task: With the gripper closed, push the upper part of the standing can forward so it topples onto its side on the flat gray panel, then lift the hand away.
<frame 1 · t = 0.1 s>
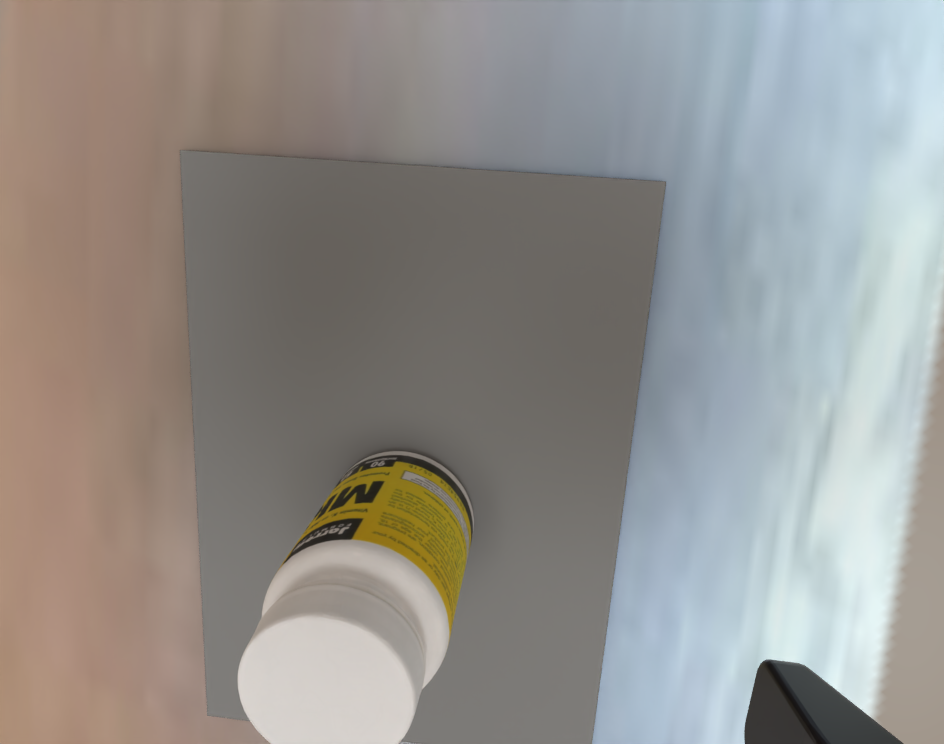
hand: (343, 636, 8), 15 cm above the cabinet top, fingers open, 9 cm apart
flat gray panel: (404, 484, 23), on the cabinet top
supplement bottle: (403, 512, 24), resting on flat gray panel
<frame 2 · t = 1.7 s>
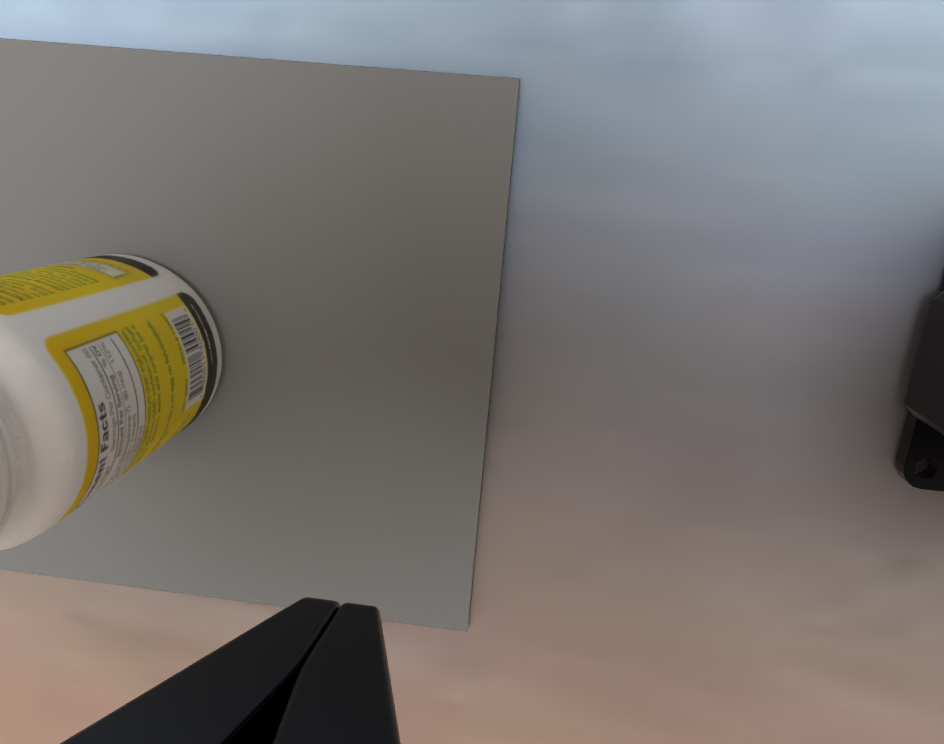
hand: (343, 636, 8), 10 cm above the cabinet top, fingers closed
flat gray panel: (103, 341, 18), on the cabinet top
supplement bottle: (141, 345, 18), resting on flat gray panel
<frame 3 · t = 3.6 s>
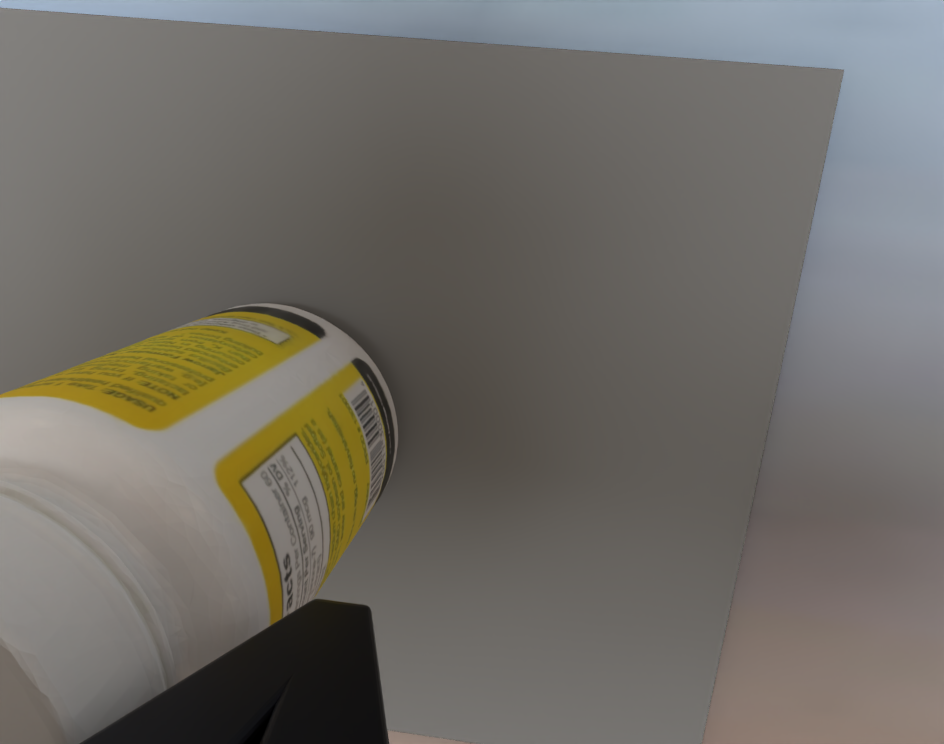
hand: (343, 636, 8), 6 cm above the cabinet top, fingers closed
flat gray panel: (242, 410, 14), on the cabinet top
supplement bottle: (289, 418, 14), resting on flat gray panel, touching gripper
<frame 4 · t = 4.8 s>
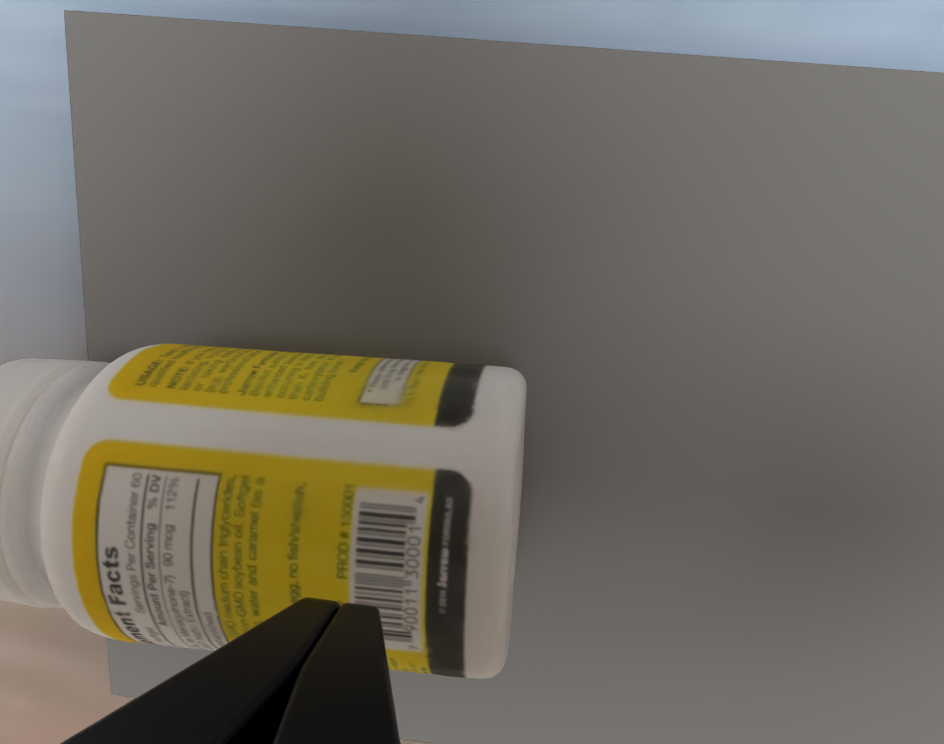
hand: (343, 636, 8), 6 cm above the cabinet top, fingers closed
flat gray panel: (599, 455, 14), on the cabinet top
supplement bottle: (531, 521, 11), point 3 cm above the cabinet top, touching flat gray panel
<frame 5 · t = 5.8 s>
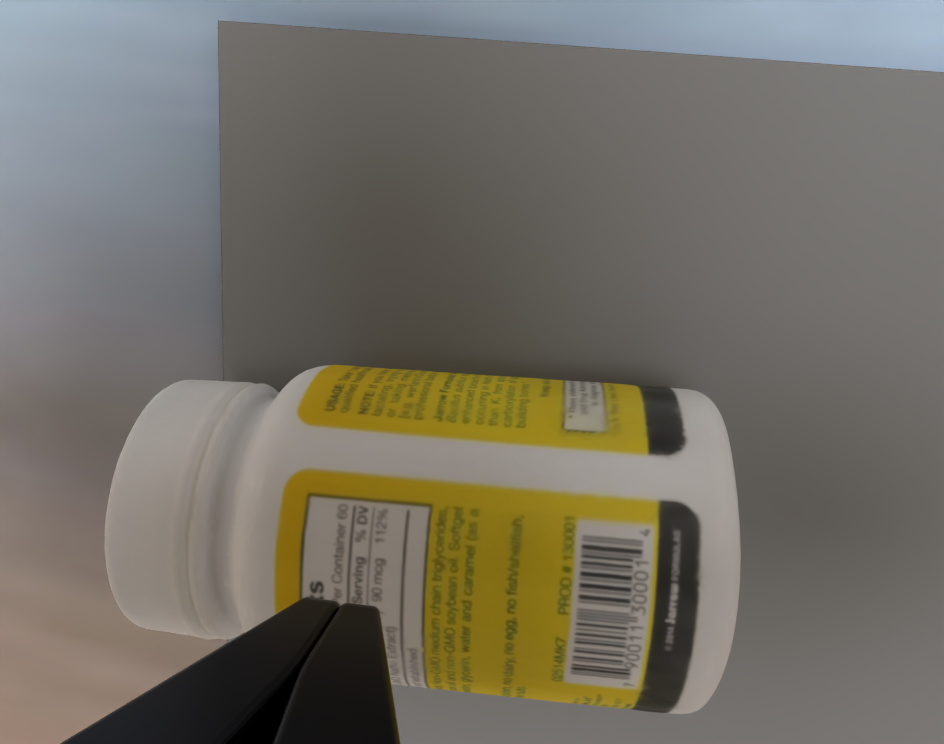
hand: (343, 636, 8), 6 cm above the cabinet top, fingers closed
flat gray panel: (753, 476, 13), on the cabinet top
supplement bottle: (715, 548, 11), point 3 cm above the cabinet top, touching flat gray panel
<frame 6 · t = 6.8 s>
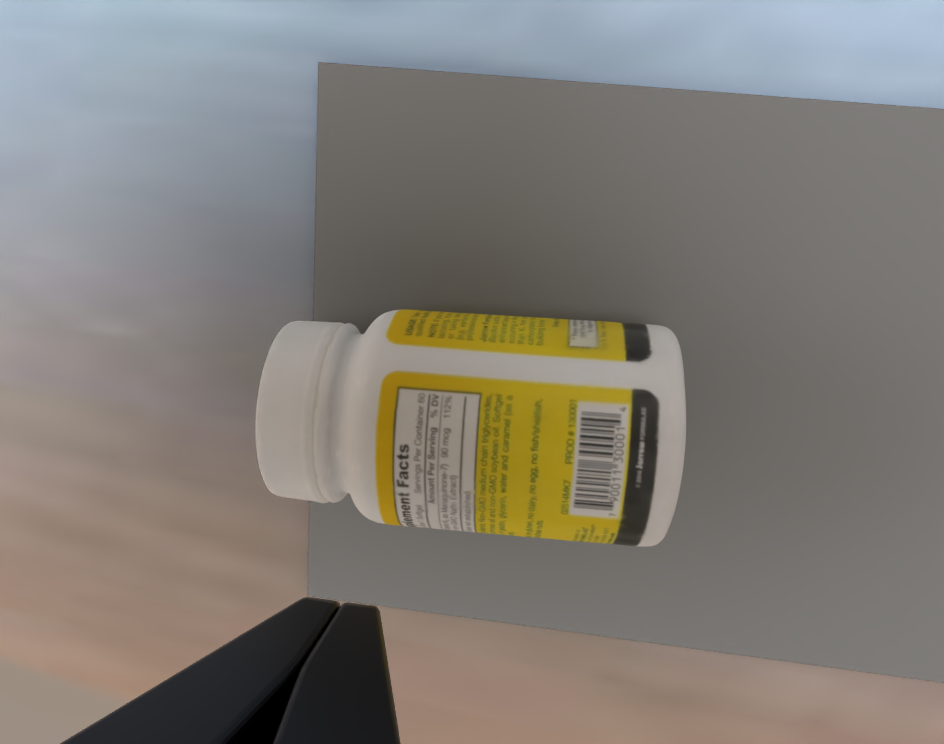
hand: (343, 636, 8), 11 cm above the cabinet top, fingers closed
flat gray panel: (709, 398, 18), on the cabinet top
supplement bottle: (676, 437, 15), point 3 cm above the cabinet top, touching flat gray panel
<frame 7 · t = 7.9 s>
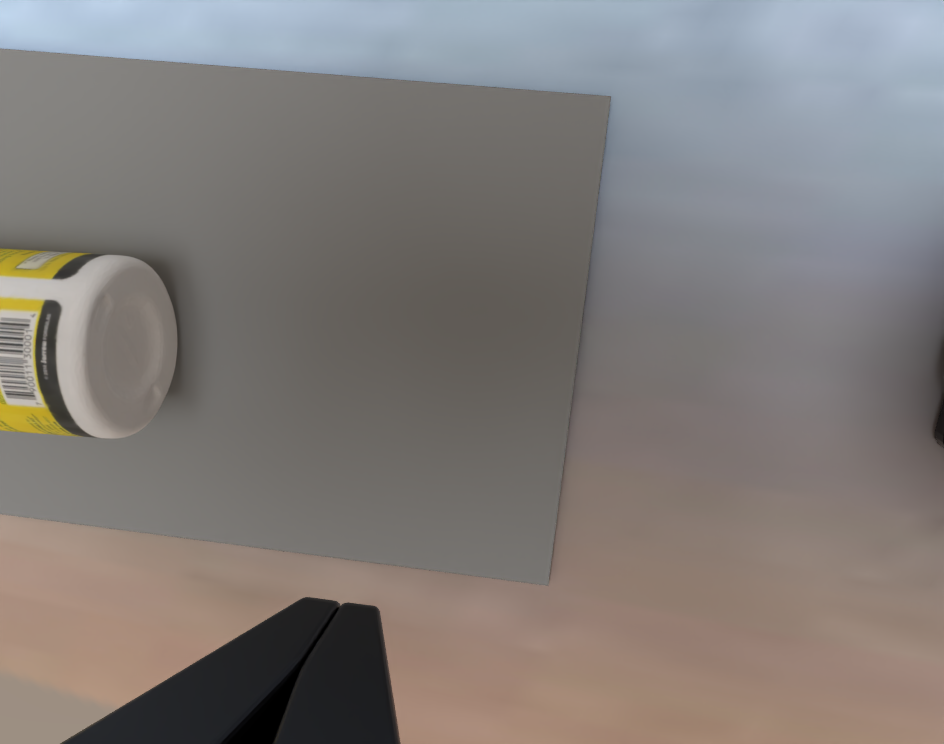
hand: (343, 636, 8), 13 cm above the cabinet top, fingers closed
flat gray panel: (231, 326, 21), on the cabinet top
supplement bottle: (144, 350, 19), point 3 cm above the cabinet top, touching flat gray panel
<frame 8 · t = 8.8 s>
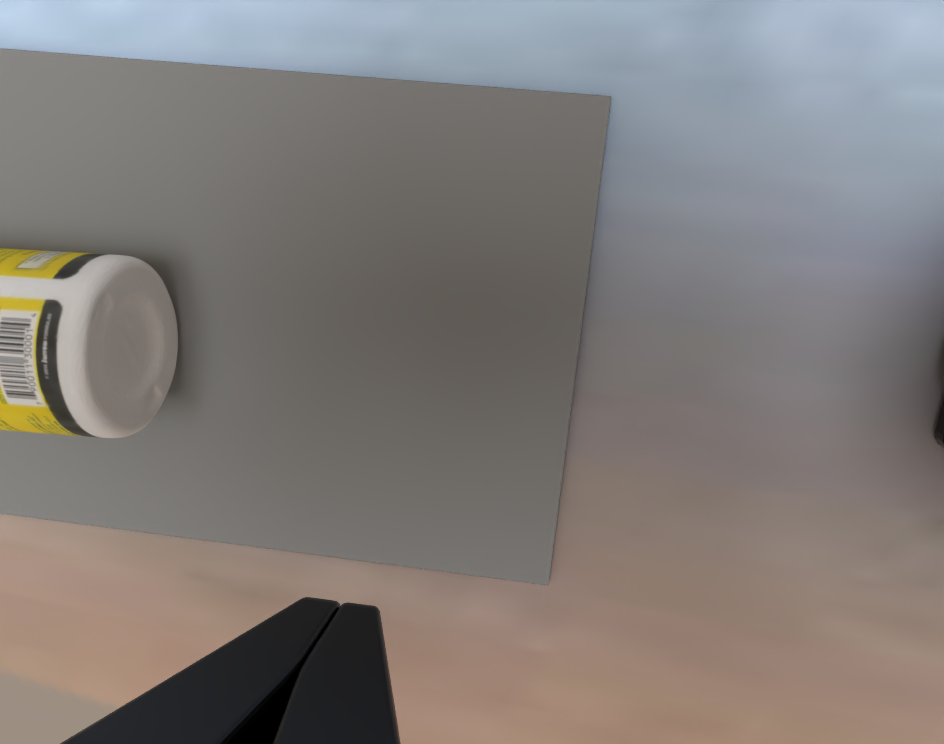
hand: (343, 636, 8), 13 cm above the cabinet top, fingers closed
flat gray panel: (231, 325, 21), on the cabinet top
supplement bottle: (145, 349, 19), point 3 cm above the cabinet top, touching flat gray panel
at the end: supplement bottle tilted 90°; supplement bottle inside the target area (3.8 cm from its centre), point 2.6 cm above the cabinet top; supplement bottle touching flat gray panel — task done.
